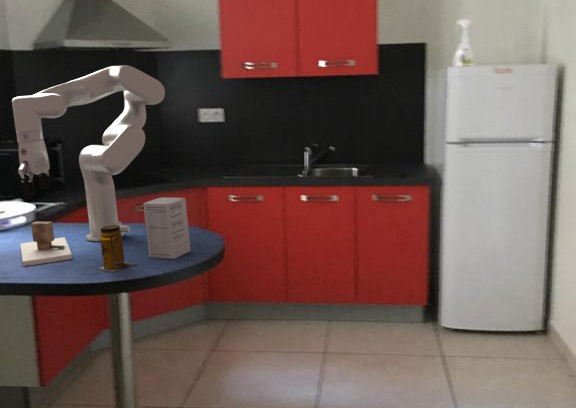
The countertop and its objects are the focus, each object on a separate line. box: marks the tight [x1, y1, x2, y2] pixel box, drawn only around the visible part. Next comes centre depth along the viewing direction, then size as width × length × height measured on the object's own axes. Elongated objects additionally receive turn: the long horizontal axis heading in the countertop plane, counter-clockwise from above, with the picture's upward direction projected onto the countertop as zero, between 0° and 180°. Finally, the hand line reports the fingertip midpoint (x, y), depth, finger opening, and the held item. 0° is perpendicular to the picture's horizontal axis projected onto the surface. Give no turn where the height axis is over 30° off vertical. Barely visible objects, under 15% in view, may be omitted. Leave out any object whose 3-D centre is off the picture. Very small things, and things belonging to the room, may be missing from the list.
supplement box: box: [142, 196, 191, 260], centre depth 200 cm, size 10×9×17 cm
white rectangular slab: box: [20, 237, 73, 267], centre depth 210 cm, size 24×14×2 cm, turn 23°
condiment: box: [98, 225, 135, 273], centre depth 191 cm, size 7×8×12 cm
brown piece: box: [30, 221, 64, 250], centre depth 209 cm, size 10×4×8 cm, turn 75°
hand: (37, 191), depth 207 cm, fingers open, 9 cm apart
